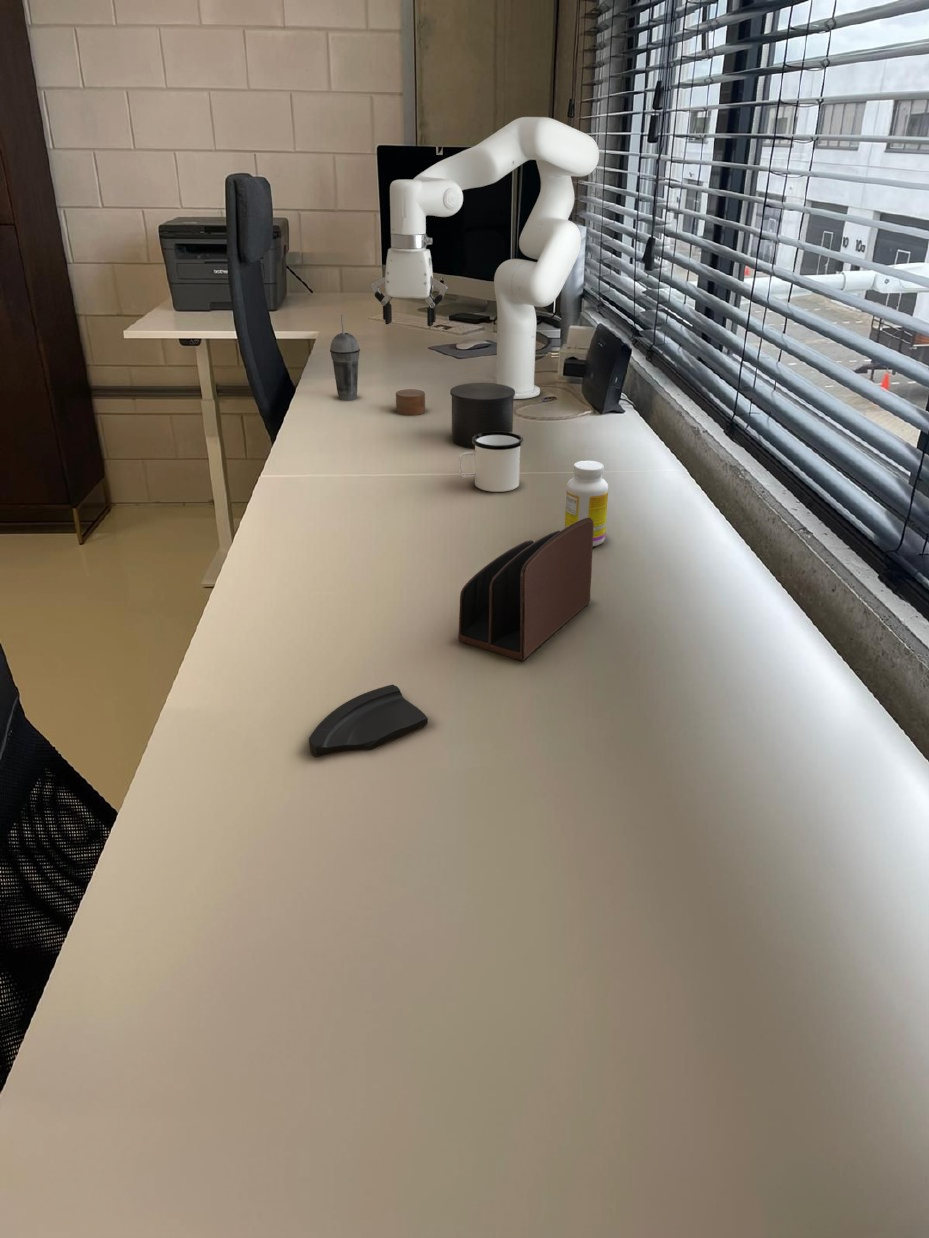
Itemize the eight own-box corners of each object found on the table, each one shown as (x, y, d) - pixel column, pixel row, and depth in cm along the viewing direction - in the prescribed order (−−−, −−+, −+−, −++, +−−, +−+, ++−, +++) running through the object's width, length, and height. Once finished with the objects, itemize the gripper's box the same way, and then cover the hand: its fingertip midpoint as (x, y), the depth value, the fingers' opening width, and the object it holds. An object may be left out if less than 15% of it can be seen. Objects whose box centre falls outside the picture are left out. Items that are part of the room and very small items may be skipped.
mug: (515, 475, 183) (516, 429, 179) (527, 492, 175) (529, 444, 170) (454, 479, 181) (454, 433, 176) (464, 496, 172) (464, 448, 168)
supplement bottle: (608, 535, 157) (614, 460, 151) (600, 550, 151) (606, 473, 145) (568, 530, 158) (573, 456, 152) (559, 545, 153) (563, 469, 147)
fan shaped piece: (289, 731, 106) (288, 719, 106) (392, 694, 113) (392, 682, 112) (325, 768, 100) (323, 755, 100) (431, 726, 107) (431, 714, 106)
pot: (456, 429, 210) (456, 381, 205) (517, 432, 208) (518, 384, 203) (444, 447, 198) (444, 397, 193) (509, 451, 196) (510, 400, 191)
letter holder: (590, 603, 135) (597, 510, 128) (523, 663, 120) (527, 561, 113) (529, 586, 139) (532, 496, 133) (457, 642, 124) (457, 543, 118)
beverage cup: (365, 394, 236) (361, 311, 227) (359, 402, 230) (355, 317, 220) (336, 393, 237) (331, 311, 227) (329, 401, 230) (324, 316, 221)
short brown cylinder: (400, 406, 226) (399, 388, 224) (427, 408, 225) (427, 389, 223) (393, 414, 220) (392, 395, 218) (421, 416, 219) (421, 397, 217)
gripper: (451, 242, 206) (450, 323, 214) (374, 239, 209) (376, 319, 216) (444, 246, 199) (443, 329, 207) (364, 243, 202) (367, 325, 210)
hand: (409, 324), depth 212 cm, fingers open, 9 cm apart
